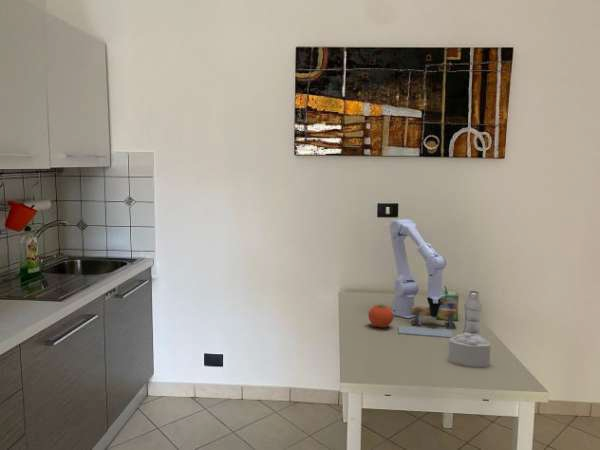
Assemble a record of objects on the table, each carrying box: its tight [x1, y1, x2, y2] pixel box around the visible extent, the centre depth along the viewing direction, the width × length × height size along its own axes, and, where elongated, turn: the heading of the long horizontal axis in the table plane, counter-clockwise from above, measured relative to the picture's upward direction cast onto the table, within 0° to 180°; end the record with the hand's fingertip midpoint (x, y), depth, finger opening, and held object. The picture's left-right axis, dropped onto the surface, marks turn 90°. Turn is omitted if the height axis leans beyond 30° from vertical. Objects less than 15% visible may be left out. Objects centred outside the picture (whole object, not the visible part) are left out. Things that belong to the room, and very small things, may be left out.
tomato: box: [368, 304, 394, 328], centre depth 201 cm, size 10×10×10 cm
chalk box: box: [435, 284, 459, 322], centre depth 216 cm, size 9×9×15 cm
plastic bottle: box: [462, 290, 483, 336], centre depth 182 cm, size 6×7×20 cm
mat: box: [397, 325, 454, 339], centre depth 195 cm, size 21×9×1 cm, turn 78°
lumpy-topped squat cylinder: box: [447, 332, 491, 368], centre depth 165 cm, size 10×13×9 cm
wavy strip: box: [412, 305, 456, 318], centre depth 204 cm, size 18×3×3 cm, turn 78°
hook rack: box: [410, 311, 457, 330], centre depth 204 cm, size 18×6×6 cm, turn 78°
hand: (433, 315), depth 204 cm, fingers closed on wavy strip, 3 cm apart
